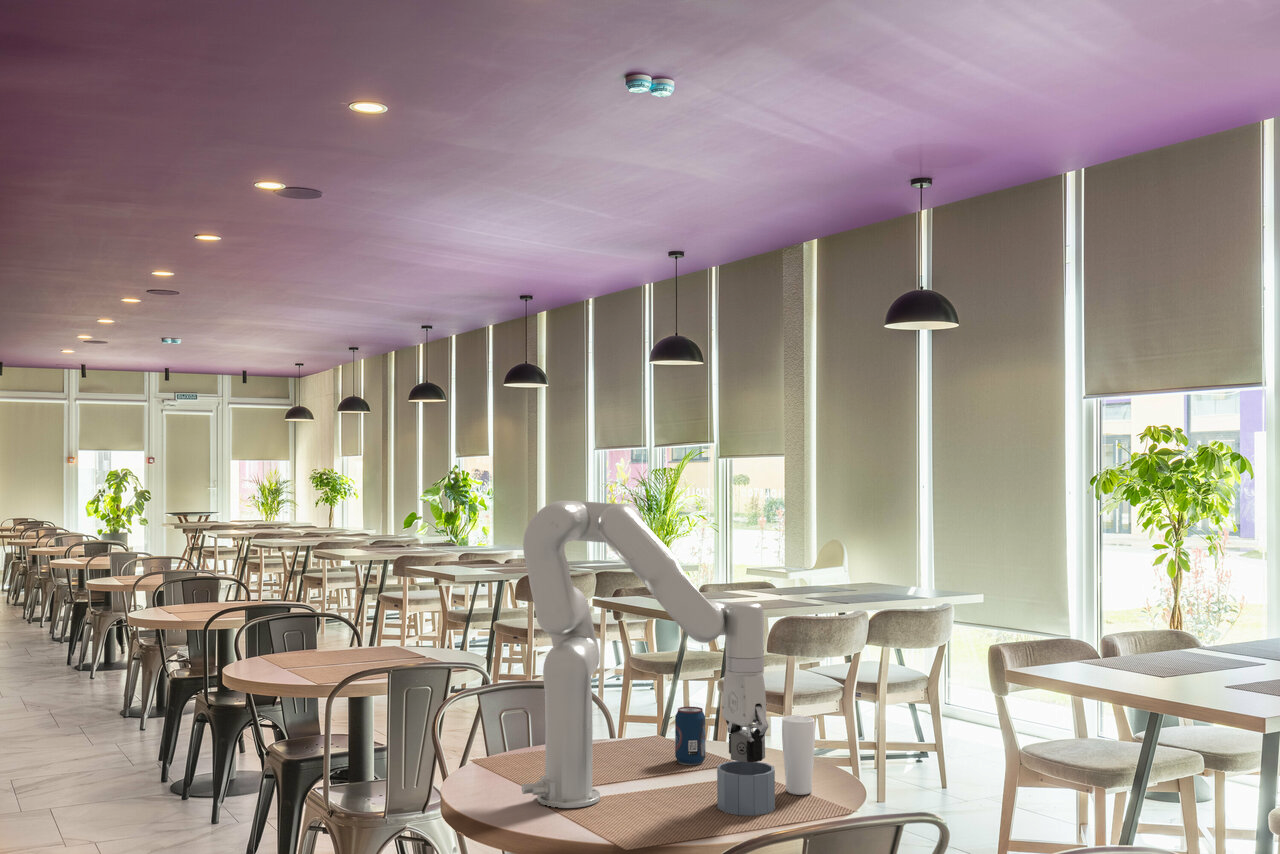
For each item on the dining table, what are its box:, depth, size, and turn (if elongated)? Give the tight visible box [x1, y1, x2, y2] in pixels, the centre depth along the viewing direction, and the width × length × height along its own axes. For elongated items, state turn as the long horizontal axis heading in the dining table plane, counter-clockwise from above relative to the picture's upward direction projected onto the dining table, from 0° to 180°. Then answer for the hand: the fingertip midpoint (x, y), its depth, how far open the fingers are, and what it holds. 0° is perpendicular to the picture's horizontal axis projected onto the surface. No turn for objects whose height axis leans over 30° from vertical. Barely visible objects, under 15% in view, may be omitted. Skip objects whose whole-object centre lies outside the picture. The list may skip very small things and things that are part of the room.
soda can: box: [674, 706, 707, 766], centre depth 242 cm, size 7×7×12 cm
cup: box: [716, 760, 776, 817], centre depth 208 cm, size 11×11×8 cm
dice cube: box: [730, 728, 766, 763], centre depth 209 cm, size 5×5×5 cm
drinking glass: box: [781, 714, 816, 796], centre depth 218 cm, size 7×7×15 cm
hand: (745, 756), depth 208 cm, fingers closed on dice cube, 6 cm apart
